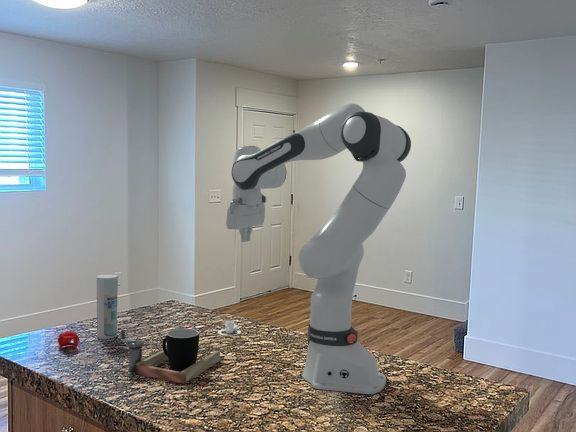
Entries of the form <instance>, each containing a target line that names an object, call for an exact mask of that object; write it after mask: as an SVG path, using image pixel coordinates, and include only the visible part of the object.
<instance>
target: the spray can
mask: <svg viewBox="0 0 576 432" xmlns="http://www.w3.org/2000/svg"><path fill="white" fill-rule="evenodd" d="M118 280H119V278H118V275H117V274H99V275H97V276H96V336H97V339H100V340H110V338H111V339H115V338H116V337H118V292H119V291H118V288H119V287H118V282H119V281H118ZM114 337H115V338H114Z"/></svg>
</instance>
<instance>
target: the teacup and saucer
mask: <svg viewBox="0 0 576 432" xmlns="http://www.w3.org/2000/svg"><path fill="white" fill-rule="evenodd" d="M224 325H225V327H224V328H223V329H220V330H218V331H217V334H218V335H221V336H225V337H226V336H227V337H229V336H230V337H231V336H237V335H240V334H241V332H242V331H241V330H239V329H238V328H239V327H238V325H237V324H235V321H234V320H226V321H225V322H224ZM224 331H225V333H222V332H224ZM234 332H237V333H234Z"/></svg>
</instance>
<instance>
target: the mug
mask: <svg viewBox="0 0 576 432" xmlns="http://www.w3.org/2000/svg"><path fill="white" fill-rule="evenodd" d="M199 343H200V332H199V331H198V330H197V329H194V328H188V327H187V328H175V329H170V330H168V331H167V332H166V336H165V337H164V338H163V340H162V350H163V351H164V353H165V355H166V356H167V357H168V360H167V362H168V366H169V368H170V370H173V371H178V372H181V371H183V370H185V369H186V368H188V367H190V366H192V365H193V364H195V363H197V362H198V361H197V360H198V355H199V347H200V344H199Z"/></svg>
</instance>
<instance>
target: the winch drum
mask: <svg viewBox="0 0 576 432" xmlns="http://www.w3.org/2000/svg"><path fill="white" fill-rule="evenodd" d="M120 338H121V342H126V346H127V348H128V372H130V373H136V363H138V362H140V361H142V360H143V346H144V345H145V341H144V340H139V339H138V340H137V339H131V338H126V330H125V329H121V330H120Z"/></svg>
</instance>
